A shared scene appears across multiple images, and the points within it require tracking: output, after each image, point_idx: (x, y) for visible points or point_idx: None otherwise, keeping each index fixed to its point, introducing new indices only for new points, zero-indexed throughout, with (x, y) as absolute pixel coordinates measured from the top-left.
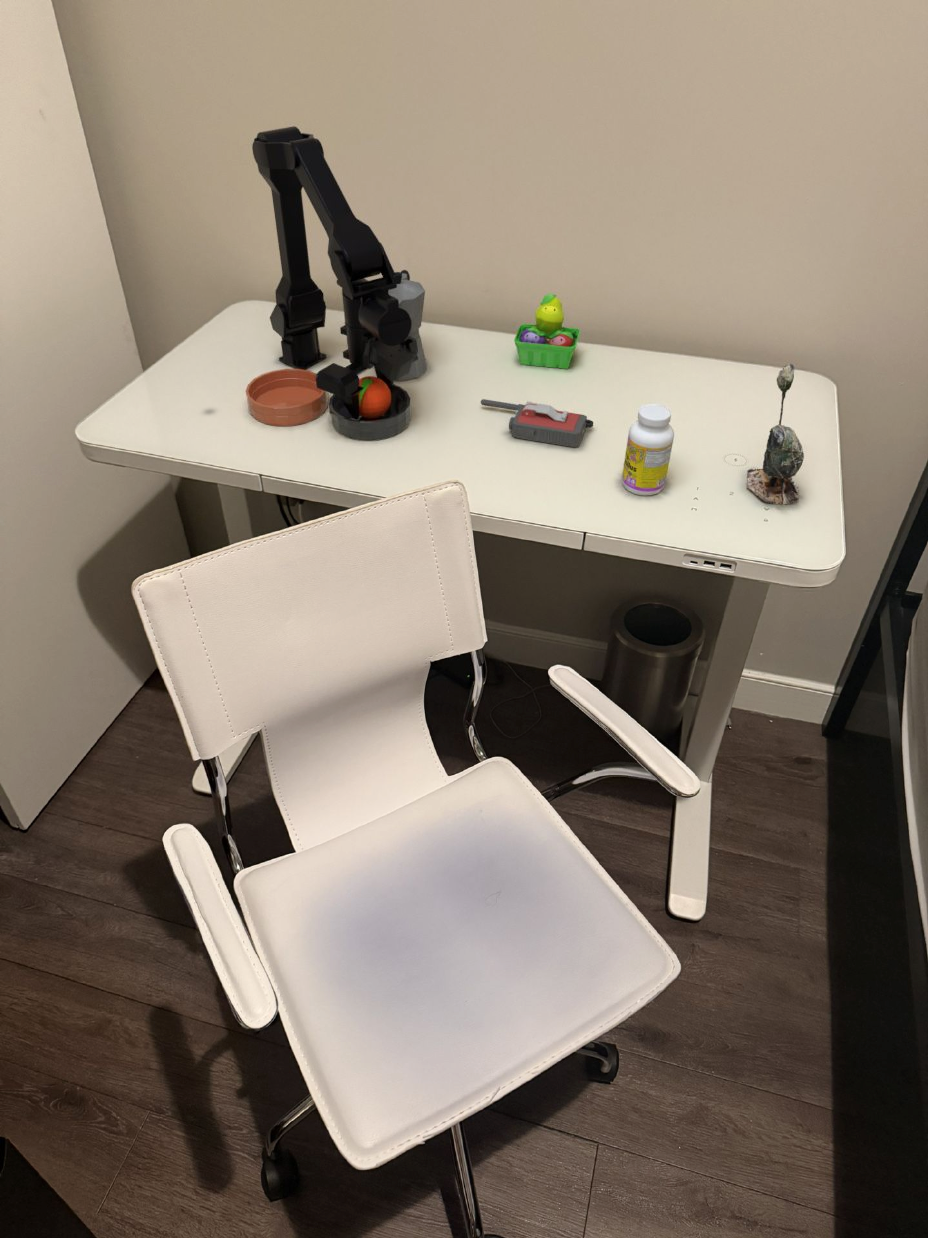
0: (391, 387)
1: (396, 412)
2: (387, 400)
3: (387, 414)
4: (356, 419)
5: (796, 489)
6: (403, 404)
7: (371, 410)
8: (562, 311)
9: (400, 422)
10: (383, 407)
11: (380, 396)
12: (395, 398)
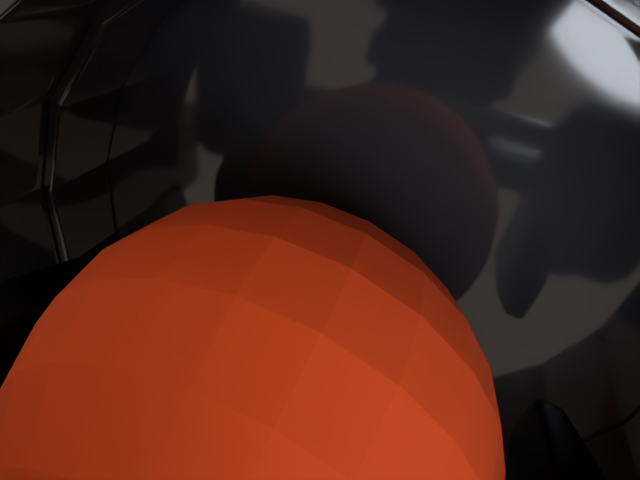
0: (7, 287)
1: (200, 127)
2: (247, 256)
3: (261, 185)
4: (560, 412)
5: None
6: (94, 104)
7: (482, 363)
8: None
9: None
10: (360, 251)
11: (310, 417)
12: (80, 199)
